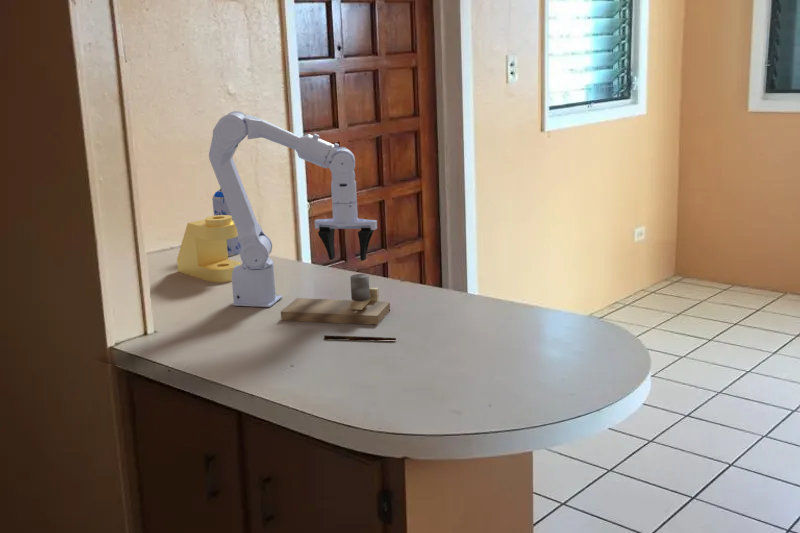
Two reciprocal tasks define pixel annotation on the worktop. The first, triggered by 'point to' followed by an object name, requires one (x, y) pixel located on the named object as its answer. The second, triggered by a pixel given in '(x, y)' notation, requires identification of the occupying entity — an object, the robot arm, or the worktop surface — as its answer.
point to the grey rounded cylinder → (362, 291)
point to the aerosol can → (222, 209)
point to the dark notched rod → (357, 338)
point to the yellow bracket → (208, 249)
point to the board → (334, 311)
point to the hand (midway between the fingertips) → (347, 259)
